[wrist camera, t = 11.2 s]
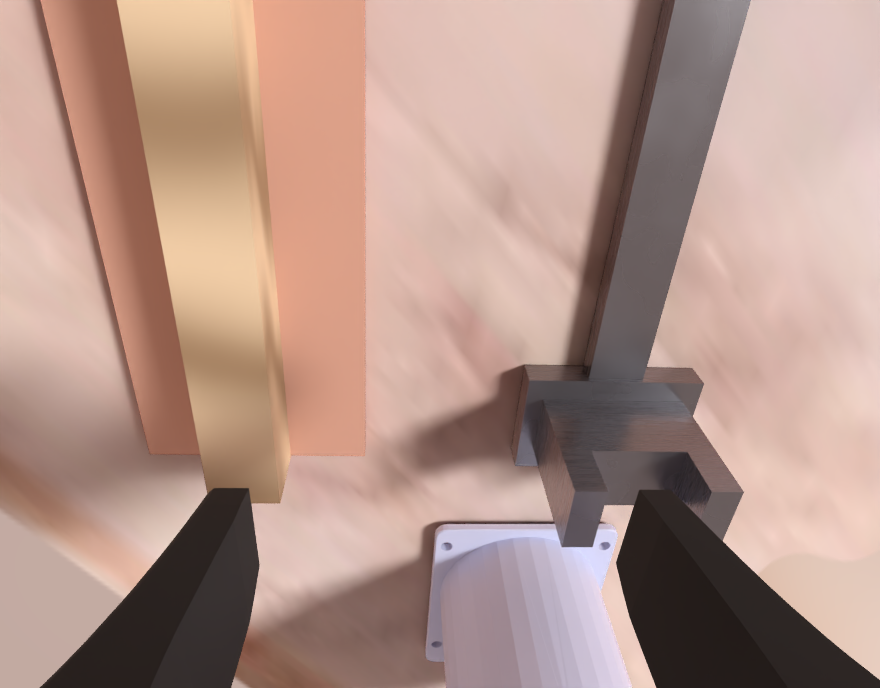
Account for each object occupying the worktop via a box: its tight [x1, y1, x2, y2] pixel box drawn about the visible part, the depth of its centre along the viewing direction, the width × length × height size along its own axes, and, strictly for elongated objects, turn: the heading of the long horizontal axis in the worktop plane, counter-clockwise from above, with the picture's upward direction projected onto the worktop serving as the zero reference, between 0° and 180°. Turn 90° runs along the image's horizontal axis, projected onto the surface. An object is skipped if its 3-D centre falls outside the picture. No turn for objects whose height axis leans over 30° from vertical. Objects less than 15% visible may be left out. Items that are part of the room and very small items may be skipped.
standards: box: [511, 0, 751, 547], centre depth 16 cm, size 24×6×6 cm, turn 176°
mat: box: [40, 0, 365, 456], centre depth 17 cm, size 24×8×1 cm, turn 176°
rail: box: [117, 0, 291, 503], centre depth 16 cm, size 24×2×2 cm, turn 176°
